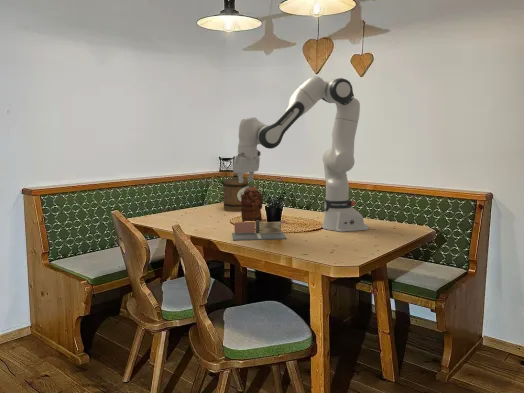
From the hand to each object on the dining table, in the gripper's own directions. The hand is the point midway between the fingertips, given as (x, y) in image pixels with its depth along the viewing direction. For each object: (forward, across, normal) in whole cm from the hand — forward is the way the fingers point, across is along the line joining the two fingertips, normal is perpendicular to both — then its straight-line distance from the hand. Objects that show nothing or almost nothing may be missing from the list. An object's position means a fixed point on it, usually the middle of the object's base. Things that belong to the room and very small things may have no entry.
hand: (245, 181), depth 225 cm
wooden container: (+25, +51, +31) cm, 64 cm away
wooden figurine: (+24, +25, +7) cm, 36 cm away
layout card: (+24, -5, -11) cm, 27 cm away
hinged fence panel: (+23, -5, -3) cm, 24 cm away
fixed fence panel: (+23, +1, -13) cm, 26 cm away
